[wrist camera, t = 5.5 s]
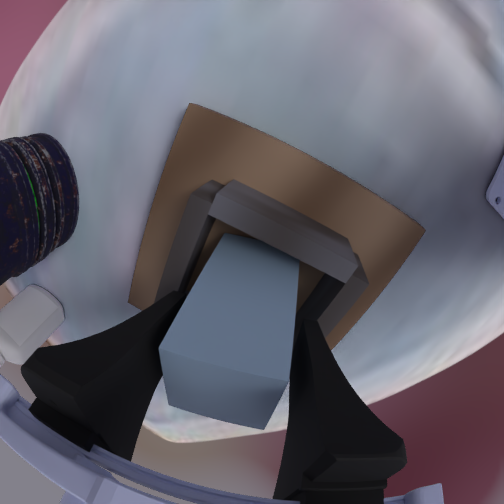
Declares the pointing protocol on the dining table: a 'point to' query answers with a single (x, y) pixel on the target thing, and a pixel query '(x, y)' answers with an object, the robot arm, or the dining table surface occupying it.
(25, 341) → the eye dropper bottle
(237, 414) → the peg
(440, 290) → the dining table surface
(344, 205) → the socket
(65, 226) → the storage jar
